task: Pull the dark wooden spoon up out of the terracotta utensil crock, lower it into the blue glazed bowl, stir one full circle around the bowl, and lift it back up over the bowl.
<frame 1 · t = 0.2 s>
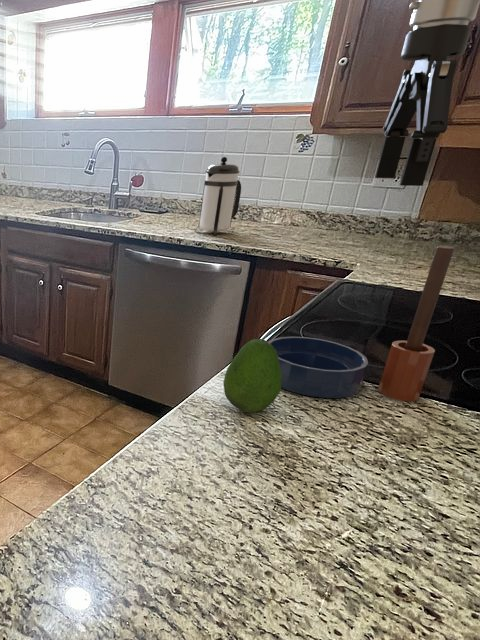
hand: (396, 181, 84), 32 cm above the worktop, tool pointing down, fingers open, 13 cm apart
coffee press: (214, 232, 222), on the worktop
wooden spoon: (397, 394, 85), point 1 cm above the worktop, touching crock
crock: (396, 397, 86), on the worktop
avocado: (246, 410, 83), on the worktop
bowl: (307, 381, 91), on the worktop
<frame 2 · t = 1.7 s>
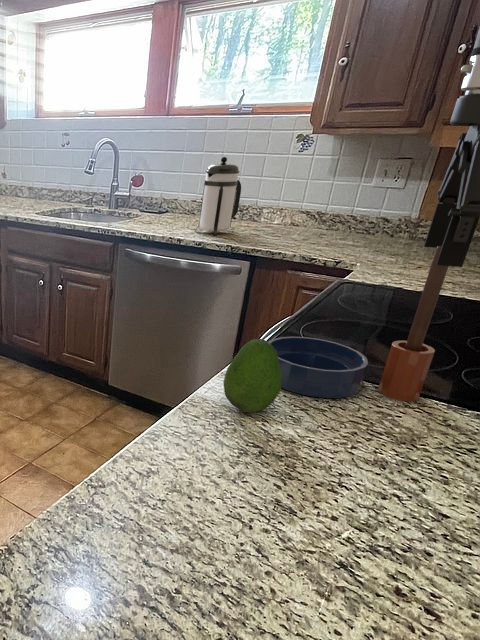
hand: (441, 256, 76), 23 cm above the worktop, tool pointing down, fingers open, 13 cm apart
nothing on the worktop moved.
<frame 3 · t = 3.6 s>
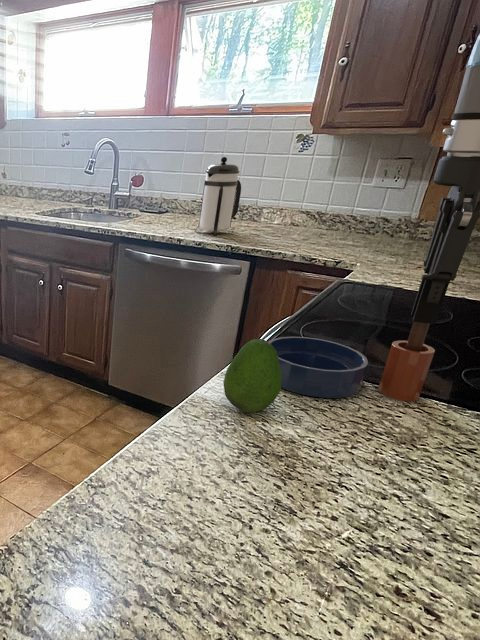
hand: (422, 319, 80), 14 cm above the worktop, tool pointing down, fingers closed on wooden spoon, 2 cm apart
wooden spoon: (398, 394, 85), point 1 cm above the worktop, touching gripper
everything else where it was.
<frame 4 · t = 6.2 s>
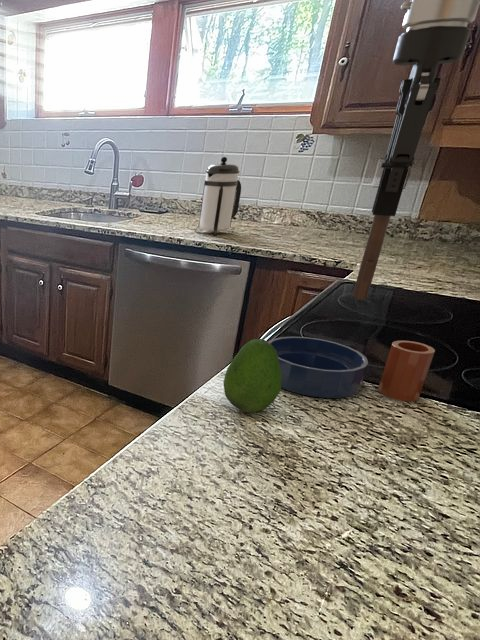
hand: (383, 213, 78), 29 cm above the worktop, tool pointing down, fingers closed on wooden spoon, 2 cm apart
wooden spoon: (359, 296, 83), point 16 cm above the worktop, touching gripper
everything else where it was.
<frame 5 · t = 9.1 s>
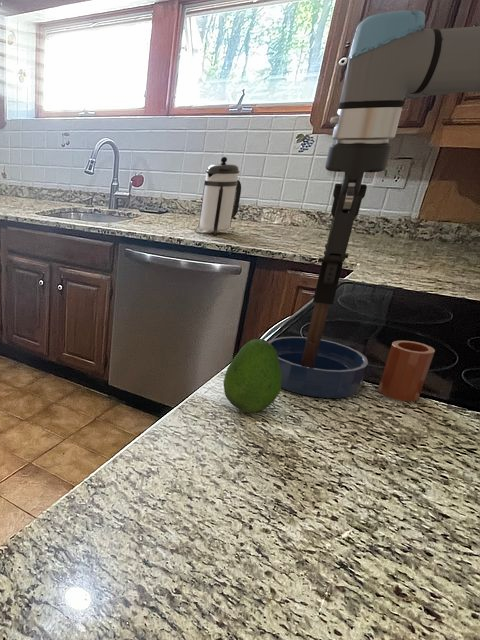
hand: (323, 300, 84), 15 cm above the worktop, tool pointing down, fingers closed on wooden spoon, 2 cm apart
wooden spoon: (305, 372, 89), point 2 cm above the worktop, touching gripper
everything else where it was.
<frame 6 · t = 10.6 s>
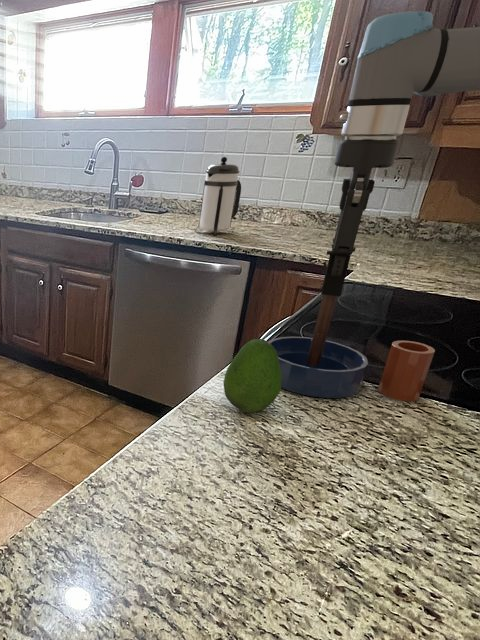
hand: (330, 292, 87), 16 cm above the worktop, tool pointing down, fingers closed on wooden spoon, 2 cm apart
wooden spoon: (312, 363, 92), point 3 cm above the worktop, touching gripper
everything else where it was.
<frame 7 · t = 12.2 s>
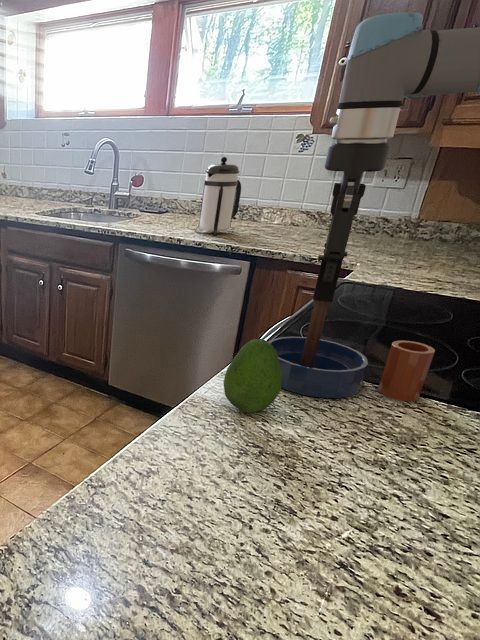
hand: (322, 298, 85), 15 cm above the worktop, tool pointing down, fingers closed on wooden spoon, 2 cm apart
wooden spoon: (305, 370, 90), point 2 cm above the worktop, touching gripper
everything else where it was.
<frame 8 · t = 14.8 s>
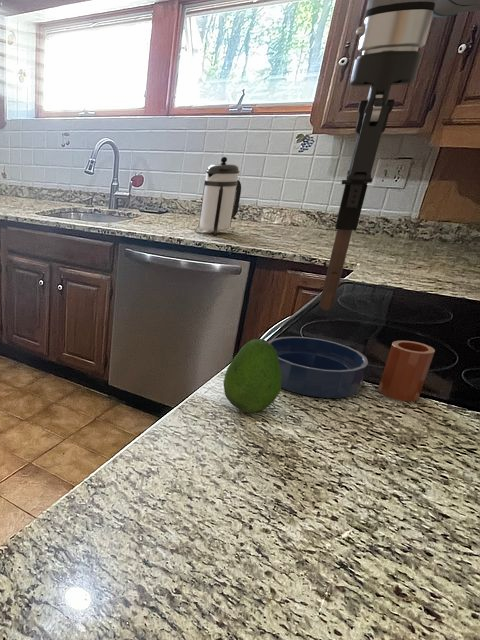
hand: (345, 227, 81), 26 cm above the worktop, tool pointing down, fingers closed on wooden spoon, 2 cm apart
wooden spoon: (325, 307, 86), point 14 cm above the worktop, touching gripper
everything else where it was.
at the end: the gripper is holding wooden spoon; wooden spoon inside the target area on the bowl (0.0 cm from its centre), point 13.6 cm above the bowl's base; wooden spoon tilted 0° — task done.
